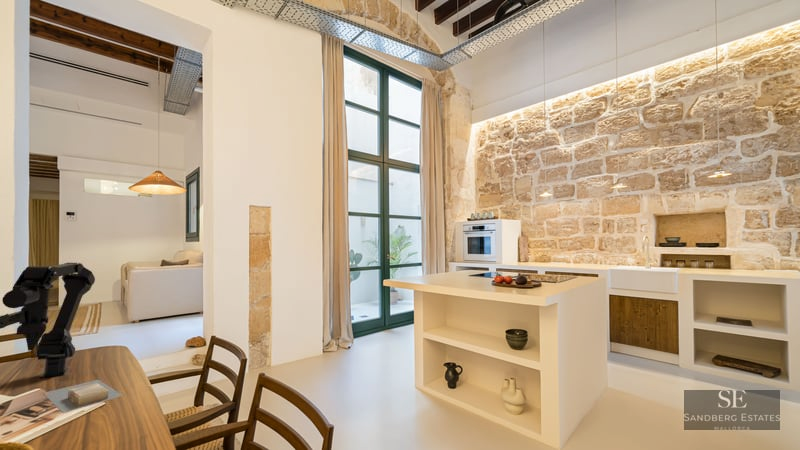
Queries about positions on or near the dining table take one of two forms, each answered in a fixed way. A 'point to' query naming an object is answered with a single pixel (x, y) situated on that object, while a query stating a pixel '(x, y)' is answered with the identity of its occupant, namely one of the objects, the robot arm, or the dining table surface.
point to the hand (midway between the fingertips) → (30, 349)
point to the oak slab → (88, 394)
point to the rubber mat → (65, 404)
